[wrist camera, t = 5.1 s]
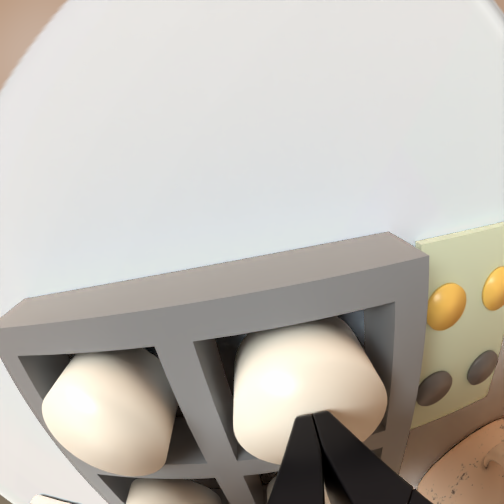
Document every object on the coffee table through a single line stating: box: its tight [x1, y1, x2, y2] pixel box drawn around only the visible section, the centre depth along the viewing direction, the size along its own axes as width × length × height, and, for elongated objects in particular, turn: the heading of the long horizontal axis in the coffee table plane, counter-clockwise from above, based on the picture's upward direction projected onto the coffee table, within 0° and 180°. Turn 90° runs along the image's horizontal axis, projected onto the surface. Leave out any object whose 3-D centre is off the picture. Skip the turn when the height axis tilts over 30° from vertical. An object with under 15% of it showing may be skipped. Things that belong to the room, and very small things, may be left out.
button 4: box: [42, 348, 178, 476], centre depth 9 cm, size 4×4×3 cm
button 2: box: [233, 316, 387, 465], centre depth 8 cm, size 4×4×3 cm
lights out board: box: [0, 222, 504, 504], centre depth 10 cm, size 13×19×2 cm
